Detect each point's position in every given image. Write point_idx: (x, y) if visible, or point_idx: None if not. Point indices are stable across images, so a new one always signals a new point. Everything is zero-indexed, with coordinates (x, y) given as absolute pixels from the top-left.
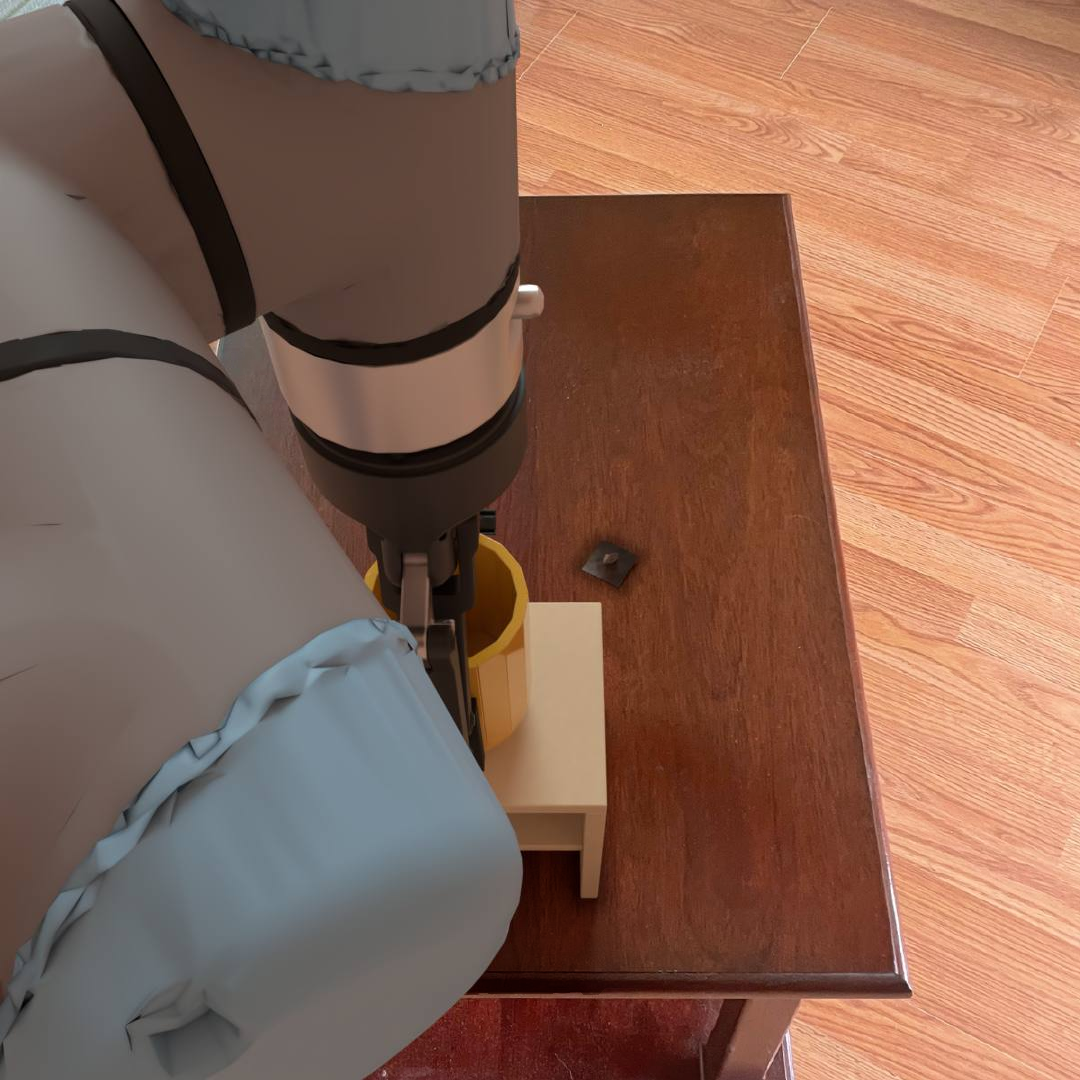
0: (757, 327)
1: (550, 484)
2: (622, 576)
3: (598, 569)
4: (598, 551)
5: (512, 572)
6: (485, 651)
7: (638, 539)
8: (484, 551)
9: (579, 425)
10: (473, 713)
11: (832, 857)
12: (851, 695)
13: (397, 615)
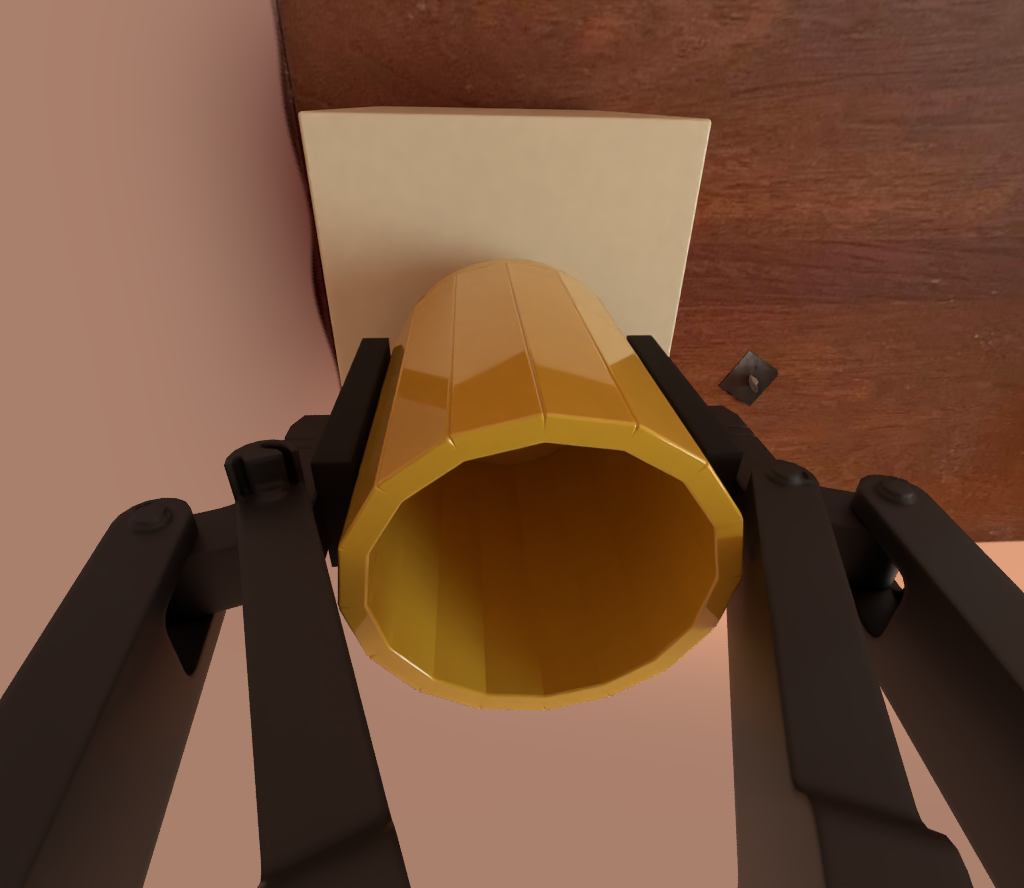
0: (972, 512)
1: (866, 317)
2: (730, 390)
3: (744, 367)
4: (765, 368)
5: (595, 690)
6: (405, 668)
7: (769, 404)
8: (662, 628)
9: (932, 348)
10: (332, 563)
11: None
12: None
13: (263, 866)
